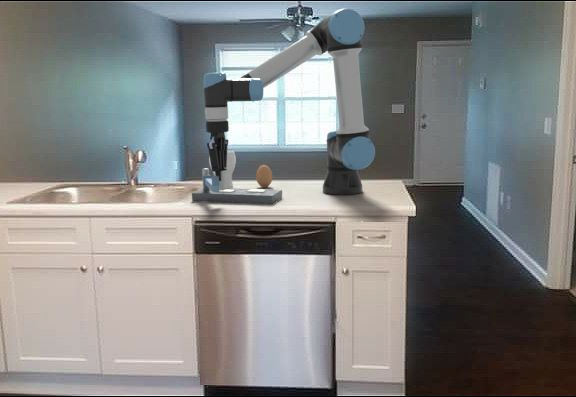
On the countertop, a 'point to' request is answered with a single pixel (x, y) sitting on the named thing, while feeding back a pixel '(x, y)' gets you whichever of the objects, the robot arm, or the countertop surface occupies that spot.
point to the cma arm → (211, 182)
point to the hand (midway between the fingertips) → (220, 189)
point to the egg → (264, 176)
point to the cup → (228, 169)
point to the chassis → (237, 194)
